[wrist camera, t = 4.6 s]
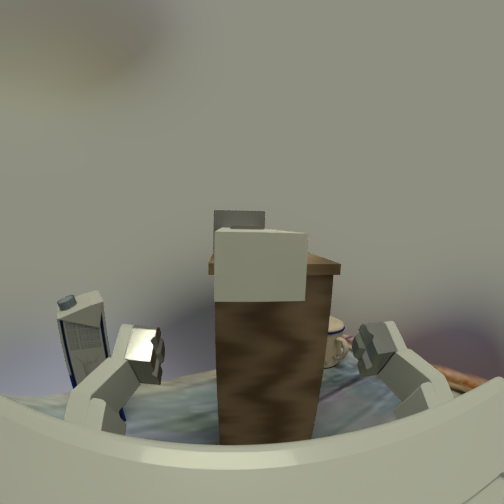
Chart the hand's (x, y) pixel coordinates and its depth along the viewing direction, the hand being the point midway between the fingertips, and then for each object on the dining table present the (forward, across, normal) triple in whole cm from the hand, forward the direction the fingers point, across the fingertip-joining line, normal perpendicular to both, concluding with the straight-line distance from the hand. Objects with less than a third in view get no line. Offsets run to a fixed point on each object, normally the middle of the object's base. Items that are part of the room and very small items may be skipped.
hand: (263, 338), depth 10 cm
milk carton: (+7, +22, +33) cm, 40 cm away
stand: (+6, -3, +32) cm, 33 cm away
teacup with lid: (+23, -20, +43) cm, 53 cm away
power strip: (+13, 0, +6) cm, 15 cm away
